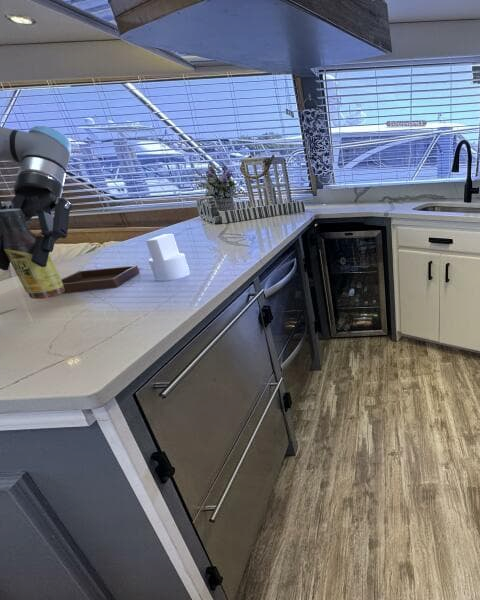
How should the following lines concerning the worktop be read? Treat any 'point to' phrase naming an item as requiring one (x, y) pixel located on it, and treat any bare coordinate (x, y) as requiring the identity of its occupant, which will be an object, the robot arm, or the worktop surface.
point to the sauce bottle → (28, 257)
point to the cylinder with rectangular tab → (166, 258)
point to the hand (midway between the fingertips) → (19, 265)
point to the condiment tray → (98, 279)
